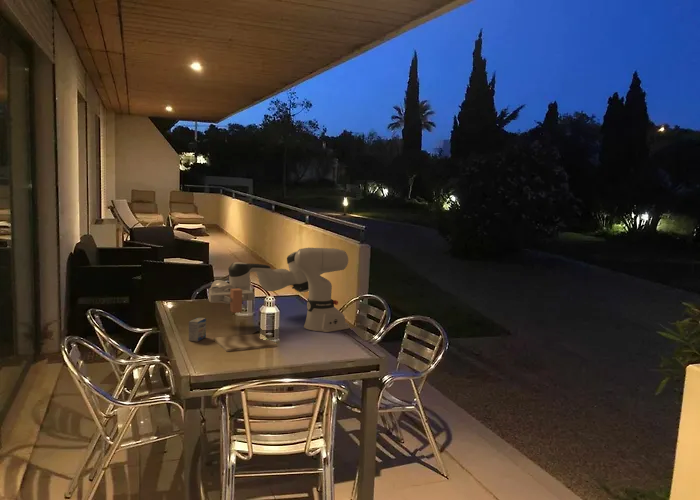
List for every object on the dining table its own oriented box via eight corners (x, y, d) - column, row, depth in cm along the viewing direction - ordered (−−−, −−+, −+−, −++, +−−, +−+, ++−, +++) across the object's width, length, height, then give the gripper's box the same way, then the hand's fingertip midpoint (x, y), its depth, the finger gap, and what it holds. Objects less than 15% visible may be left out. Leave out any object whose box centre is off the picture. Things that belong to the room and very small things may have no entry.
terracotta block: (238, 310, 254) (239, 288, 253) (241, 312, 251) (242, 290, 249) (229, 310, 252) (230, 288, 251) (232, 312, 249) (233, 290, 247)
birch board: (261, 335, 256) (261, 333, 256) (276, 346, 241) (276, 343, 241) (213, 340, 245) (213, 337, 245) (226, 351, 230) (226, 349, 230)
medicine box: (197, 342, 241) (198, 322, 240) (188, 340, 242) (188, 321, 241) (206, 337, 249) (206, 318, 248) (196, 336, 250) (197, 317, 249)
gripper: (248, 299, 267) (258, 305, 255) (205, 301, 257) (214, 308, 245) (248, 285, 267) (259, 291, 255) (205, 287, 256) (214, 293, 245)
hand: (236, 299), depth 250 cm, fingers closed on terracotta block, 4 cm apart
